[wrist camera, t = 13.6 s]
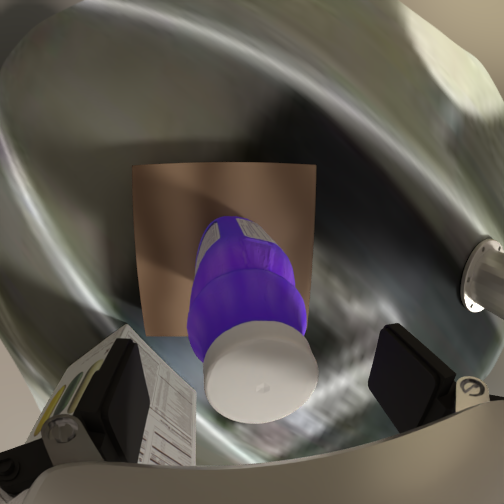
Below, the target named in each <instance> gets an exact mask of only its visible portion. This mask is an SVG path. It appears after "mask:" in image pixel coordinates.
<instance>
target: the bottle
mask: <svg viewBox="0 0 504 504" xmlns="http://www.w3.org/2000/svg"><path fill="white" fill-rule="evenodd" d="M306 325H307V319H306V309H305V304H304V300H303V298H302V297H301V295H300V293H299V292H298V290H297V289H296V288H295V279H294V273H293V268H292V265H291V263H290V261H289V258H288V256H287V255H286V254H285V253H284V251H283V250H282V249H281V248H280V247H279V246H278V245H277V243H276V242H275V241H274V240H273V239H272V238H271V237H270V236H269V235H268V234H267V233H266V232H265V231H264V230H263V229H262V227H260V226H259V225H258V224H257V223H255V222H253V221H251V220H249V219H247V218H242V217H238V216H223V217H219V218H217V219H215V220H214V221H212V222H211V223H210V224H209V225H208V227H207V228H206V230H205V232H204V233H203V236H202V238H201V241H200V244H199V247H198V251H197V256H196V264H195V277H194V282H193V286H192V291H191V298H190V307H189V313H188V319H187V332H188V337H189V340H190V344H191V347H192V349H193V351H194V353H195V354H196V356H197V357H198V358H199V359H200V360H201V361H202V362H203V373H204V390H205V394H206V397H207V399H208V401H209V403H210V404H211V405H212V407H213V408H214V409H215V410H216V411H217V412H219V413H220V414H222V415H223V416H225V417H227V418H229V419H231V420H234V421H238V422H242V423H266V422H271V421H274V420H278V419H281V418H283V417H285V416H287V415H289V414H291V413H293V412H294V411H296V410H297V409H298V408H300V407H301V406H302V405H303V404H304V403H305V402H306V401H307V400H308V399H309V398H310V396H311V394H312V393H313V391H314V389H315V387H316V385H317V381H318V366H317V362H316V360H315V358H314V356H313V354H312V352H311V349H310V346H309V344H308V342H307V340H306V339H305V337H304V334H305V330H306Z"/></svg>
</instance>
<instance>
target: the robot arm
mask: <svg viewBox="0 0 504 504" xmlns="http://www.w3.org/2000/svg"><path fill="white" fill-rule="evenodd" d="M461 300H462V303H463V305H464V306H465V308H466V309H468V310H469V311H472V312H479V311H481V310H483V309H484V308H485V309H486V310H488V311H490V312H492V313H493V314H495V315H497V316H498V317H500V318H502V319H504V251H503V248H502V246H501V244H500V243H499V242H498V241H496V240H493V239H485V240H483V241H482V242H480V243H479V244H478V245H477V246H476V247H475V249H474V250H473V252H472V253H471V255H470V257H469V258H468V261H467V263H466V265H465V268H464V272H463V276H462V280H461ZM455 376H456V373H455V372H454V371H452V370H451V369H450V368H449V367H448V366H447V365H446V364H445V363H444V362H442V361H441V360H440V359H439V358H438V357H437V356H436V355H435V354H434V353H432V352H431V351H430V350H429V349H428V348H427V347H426V346H424V345H423V344H422V343H421V342H420V341H419V340H418V339H416V338H415V337H414V336H413V335H412V334H411V333H410V332H408V331H407V330H406V329H405V328H404V327H403V326H401V325H400V324H399V323H395V324H389V325H385V326H384V328H383V329H382V330H381V331H380V334H379V339H378V343H377V348H376V352H375V356H374V360H373V364H372V368H371V372H370V376H369V380H368V387H369V389H370V391H371V392H372V394H373V395H374V397H375V398H376V399H377V401H378V402H379V404H380V405H381V407H382V408H383V410H384V411H385V412H386V414H387V415H388V417H389V418H390V420H391V421H392V423H393V424H394V426H395V427H396V428H397V430H398V431H399V433H400V434H397V435H394V436H391V437H388V438H385V439H381V440H378V441H375V442H371V443H367V444H364V445H360V446H356V447H352V448H348V449H344V450H339V451H335V452H330V453H325V454H320V455H315V456H309V457H303V458H297V459H290V460H283V461H275V462H266V463H256V464H243V465H224V466H173V465H154V464H139V463H138V458H139V453H140V448H141V443H142V439H143V434H144V429H145V425H146V420H147V416H148V412H149V407H150V397H149V393H148V389H147V385H146V380H145V376H144V371H143V367H142V362H141V357H140V352H139V347H138V344H137V343H133V340H132V339H128V338H116V340H115V342H114V343H113V345H112V347H111V349H110V351H109V352H108V354H107V356H106V358H105V360H104V362H103V364H102V365H101V367H100V369H99V370H97V371H95V373H94V374H93V376H92V378H91V380H90V381H89V383H88V385H87V387H86V389H85V391H84V393H83V395H82V397H81V399H80V401H79V403H78V405H77V407H76V409H75V411H74V413H73V415H69V414H59V415H55V416H52V417H50V418H49V419H47V420H46V421H45V422H44V424H43V425H42V428H41V436H42V438H40V439H37V440H34V441H32V442H29V443H26V444H24V445H21V446H18V447H15V448H13V449H10V450H7V451H4V452H1V453H0V504H504V397H500V396H495V395H489V390H488V387H487V385H486V384H485V383H484V382H483V381H482V380H480V379H478V378H476V377H472V376H465V377H462V378H460V379H459V380H458V381H457V383H456V382H455V381H454V379H455Z"/></svg>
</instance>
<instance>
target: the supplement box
mask: <svg viewBox="0 0 504 504" xmlns="http://www.w3.org/2000/svg"><path fill="white" fill-rule="evenodd" d="M116 338H128V339H132V340H133V343H137V344H138V347H139V352H140V357H141V362H142V367H143V371H144V376H145V380H146V385H147V389H148V393H149V397H150V407H149V412H148V416H147V420H146V425H145V429H144V434H143V439H142V443H141V448H140V453H139V458H138V463H139V464H154V465H173V466H196V391H195V390H194V389H193V388H192V387H191V386H190V385H188V384H187V383H186V382H185V381H184V380H183V379H182V378H181V377H180V376H179V375H178V374H177V373H176V372H174V371H173V370H172V369H171V368H170V367H169V366H168V365H167V364H166V363H165V362H164V361H163V360H162V359H161V358H160V357H159V356H158V355H157V354H156V353H155V352H154V351H153V350H152V349H151V348H150V347H149V346H148V345H147V344H146V343H145V342H144V341H143V340H142V339H141V338H140V337H139V335H138V334H137V333H136V332H135V331H134V330H133V329H132V328H131V327H130V326H129V325H128V324H125V325H124V326H122V327H121V328H119V329H118V330H117V331H115V332H114V333H113V334H111V335H110V336H109V337H107V338H106V339H105V340H103V341H102V342H101V343H99V344H98V345H97V346H95V347H94V348H93V349H91V350H90V351H89V352H87V353H86V354H85V355H84V356H82V357H81V358H80V359H78V360H77V361H76V362H74V363H73V364H72V365H70V366H69V367H68V368H67V370H66V372H65V373H64V375H63V377H62V378H61V380H60V382H59V383H58V385H57V387H56V388H55V390H54V392H53V394H52V395H51V397H50V399H49V400H48V402H47V404H46V406H45V407H44V409H43V411H42V413H41V414H40V416H39V418H38V420H37V422H36V424H35V425H34V427H33V429H32V431H31V433H30V435H29V437H28V439H27V441H26V443H29V442H32V441H34V440H37V439H40V438H42V436H41V428H42V425H43V424H44V422H45V421H46V420H47V419H49V418H50V417H52V416H55V415H59V414H69V415H73V413H74V411H75V409H76V407H77V405H78V403H79V401H80V399H81V397H82V395H83V393H84V391H85V389H86V387H87V385H88V383H89V381H90V380H91V378H92V376H93V374H94V373H95V371H97V370H99V369H100V367H101V365H102V364H103V362H104V360H105V358H106V356H107V354H108V352H109V351H110V349H111V347H112V345H113V343H114V342H115V340H116ZM26 443H25V444H26Z"/></svg>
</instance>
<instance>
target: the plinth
mask: <svg viewBox="0 0 504 504" xmlns="http://www.w3.org/2000/svg"><path fill="white" fill-rule="evenodd" d="M132 194H133V219H134V236H135V250H136V261H137V271H138V281H139V290H140V298H141V305H142V313H143V319H144V326H145V332H146V336H188V332H187V319H188V313H189V307H190V298H191V291H192V286H193V282H194V277H195V264H196V256H197V251H198V247H199V244H200V241H201V238H202V236H203V233H204V232H205V230H206V228H207V227H208V225H209V224H210V223H211V222H212V221H214V220H215V219H217V218H219V217H223V216H238V217H242V218H247V219H249V220H251V221H253V222H255V223H257V224H258V225H259V226H260V227H262V229H263V230H264V231H265V232H266V233H267V234H268V235H269V236H270V237H271V238H272V239H273V240H274V241H275V242H276V243H277V245H278V246H279V247H280V248H281V249H282V250H283V251H284V253H285V254H286V255H287V256H288V258H289V261H290V263H291V265H292V268H293V273H294V279H295V288H296V289H297V290H298V292H299V293H300V295H301V297H302V298H303V300H304V304H305V309H306V319H307V321H308V311H309V299H310V287H311V274H312V259H313V243H314V223H315V198H316V165H308V164H289V163H259V162H198V163H169V164H150V165H135V166H132ZM306 329H307V325H306Z"/></svg>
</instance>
